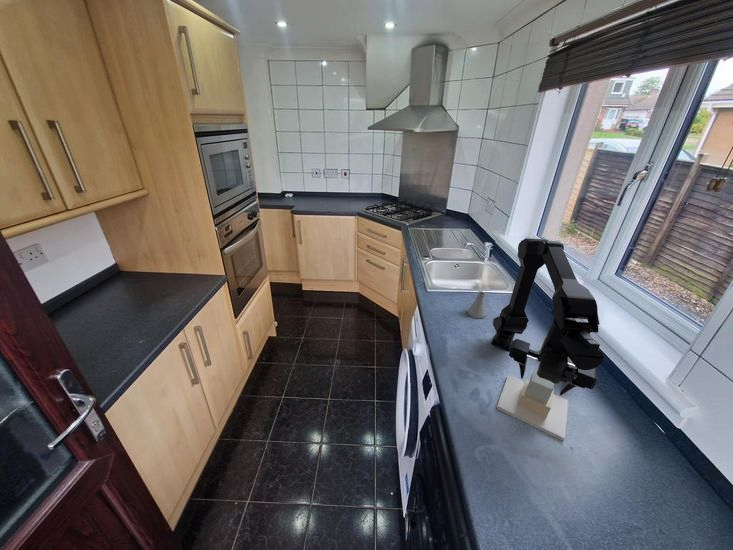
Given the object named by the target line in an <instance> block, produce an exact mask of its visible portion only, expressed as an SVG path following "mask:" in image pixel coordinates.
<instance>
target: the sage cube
mask: <svg viewBox="0 0 733 550" xmlns="http://www.w3.org/2000/svg"><path fill="white" fill-rule="evenodd" d="M537 371H538V369H534V370H533V371H532V374H531V376H530V379H529V380H530V381H529V385H528V388H527V392H526V395H529V396H531V397H533V398H535V399H537V400H540V401H542V402H544V403H546V404H547V402H548V400H549V398H550V396H551V393H552V391H554V386H555V383H552V382H551V381H548V380H546V379H543V378H540V377H539V376H538V375H537Z"/></svg>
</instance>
